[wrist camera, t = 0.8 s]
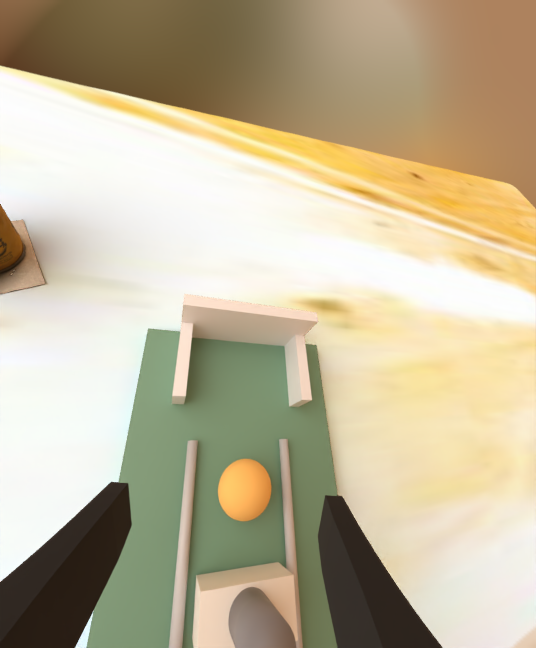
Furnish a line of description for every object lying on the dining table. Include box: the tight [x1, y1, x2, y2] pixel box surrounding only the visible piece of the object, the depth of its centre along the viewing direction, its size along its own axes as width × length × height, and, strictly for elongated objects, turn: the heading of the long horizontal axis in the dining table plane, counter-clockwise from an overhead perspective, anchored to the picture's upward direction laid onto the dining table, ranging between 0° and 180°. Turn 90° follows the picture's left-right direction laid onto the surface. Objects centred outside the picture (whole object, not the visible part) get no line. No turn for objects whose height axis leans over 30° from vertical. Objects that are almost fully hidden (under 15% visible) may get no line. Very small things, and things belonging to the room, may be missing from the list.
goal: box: [172, 294, 318, 407], centre depth 24 cm, size 8×12×6 cm, turn 93°
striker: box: [192, 562, 298, 648], centre depth 15 cm, size 3×6×7 cm, turn 93°
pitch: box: [87, 329, 337, 648], centre depth 22 cm, size 26×18×2 cm
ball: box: [218, 459, 271, 521], centre depth 20 cm, size 4×4×4 cm
